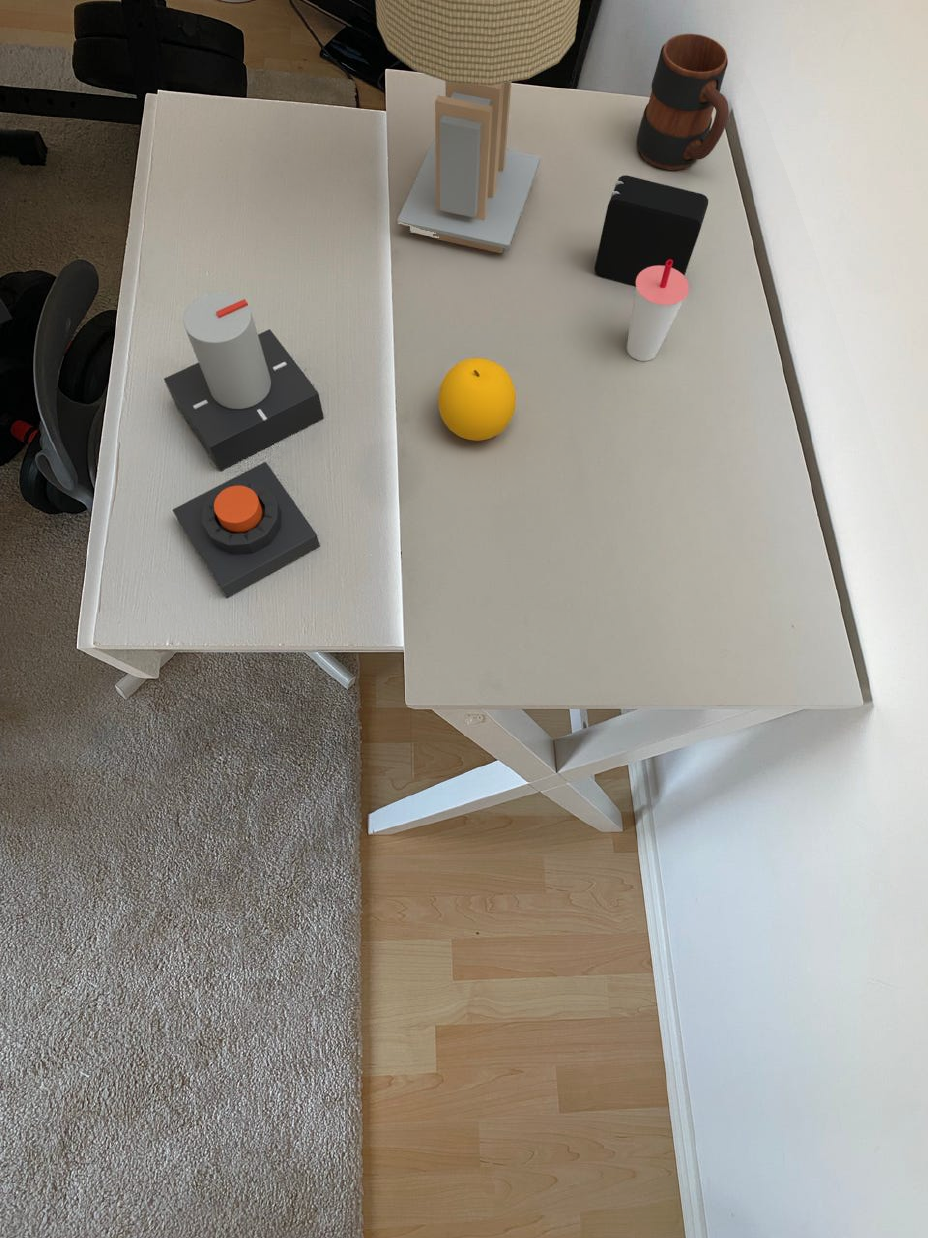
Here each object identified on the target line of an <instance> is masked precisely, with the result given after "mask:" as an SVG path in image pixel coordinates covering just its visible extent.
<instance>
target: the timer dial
mask: <svg viewBox="0 0 928 1238" xmlns="http://www.w3.org/2000/svg"><path fill="white" fill-rule="evenodd" d="M182 321H183V326H184V329H185V332H186V334H187V337H188V340H189V342H190V344H191V347H192V350H193V352H194V354H195V357H196V359H197V361H198V362H199V364H200V367H201V370H202V372H203V375H204V377H205V380H206V382H207V385H208V387H209V390H210V392H211V395H212V396H213V398H214V399H215V400H216V401H217V402H218V403H219V404H221V405H222V406H224V407H227V408H231V409H244V408H249V407H252V406H254V405H256V404H258V403H259V402H261V401H262V400H263V399H264V398H265V397H266V396H267V394H268V393H269V390H270V387H271V379H270V375H269V372H268V368H267V365H266V361H265V358H264V354H263V351H262V347H261V344H260V340H259V337H258V330H257V327H256V323H255V320H254V316H253V313H252V310H251V307H250V305H249V303H248V302H247V299H245V298H243V297H241V296H239V295H237V294H235V293H230V292H224V291H217V292H216V291H215V292H210V293H206V294H204V295H201V296H199V297H197V298H196V299H194V300H193V301H192V302H191V303H190V304H189V305H188V306H187V307H186V309H185V310H184V313H183V320H182ZM198 362H197V363H198Z"/></svg>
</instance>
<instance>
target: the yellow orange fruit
mask: <svg viewBox="0 0 928 1238" xmlns="http://www.w3.org/2000/svg"><path fill="white" fill-rule="evenodd" d="M437 398H438V399H437V405H438V410H439V414H440V418H441V420H442V421H443V423H444V424H445V426H446V427H447V428H448V430H450V432H452V433H453V434H455V435H456V436H458V437H460V438H462V439H465V440H468V441H475V442H476V441H478V442H479V441H485V440H489V439H492V438H494V437H496V436H498V435H499V434H501V433H502V432H503V431H504V430H505V429H507V427H508V426H509V425H510V422H511V420H512V419H513V417H514V415H515V412H516V407H517V406H516V403H517V392H516V387H515V385H514V382H513V379H512V377H511V375H510V374H509V373H508V371H507V370H506V369H505V368H504V367H503V366H502V365H500V364H499V363H497V362H496V361H494V360H491V359H487V358H484V357H483V358H482V357H472V358H465V359H464V360H461V361H459V362H457V363H456V364H454V366H452V367H451V368H450V369H449V370H448V371H447V373H446V374H445V376H444V377H443V379H442V381H441V383H440V385H439V390H438V397H437Z"/></svg>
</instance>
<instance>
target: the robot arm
mask: <svg viewBox="0 0 928 1238" xmlns="http://www.w3.org/2000/svg"><path fill="white" fill-rule="evenodd" d="M10 320H13V317H12V315H11V313H10V312H9V310H8V308H7V307H6V305H5V304H4V302H3V300H2V299H1V298H0V325H1V324H3V323H5V322H9V321H10Z"/></svg>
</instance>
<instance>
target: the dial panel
mask: <svg viewBox="0 0 928 1238" xmlns="http://www.w3.org/2000/svg"><path fill="white" fill-rule="evenodd" d="M258 337H259V340H260V344H261V347H262V351H263V354H264V358H265V361H266V365H267V368H268V372H269V375H270V379H271V387H270V390H269V393H268V394H267V396H266V397H265V398H264V399H263V400H262V401H261V402H259V403H258V404H256V405H254V406H252V407H249V408H244V409H231V408H227V407H224V406H222V405H221V404H219V403H218V402H217V401H216V400H215V399H214V398H213V396H212V395H211V392H210V390H209V387H208V385H207V382H206V380H205V377H204V375H203V372H202V370H201V367H200V364H199V362H196V363H194V364H192V365H190V366H188V367H186V368H183V369H181V370H179V371H177V372H175V373H173V374H171V375H169V376H166V377H164V378H163V381H164V383H165V385H166V387H167V389H168V392H169V394H170V396H171V398H172V400H173V402H174V405H175V406H176V408H177V409H178V411H179V412H180V413H181V415H182V417H183V418H184V420H185V421H186V423H187V424H188V426H189V427H190V428H191V430H192V432H193V434H195V436H196V437H197V439H198V440H199V442H200V443H201V446H202V447H203V448H204V450H205V451H206V452H207V454H208V456H209V457H210V458H211V460H212V462H213V463H214V465H215V466H216V468H217V470H218V471H219V472H222V471H224V470H226V469H228V468H231V466H233V465H236V464H237V463H240V462H242V461H244V460H245V459H247V458H250V457H252V456H253V455H256V454H257V453H259V452H261V451H264V450H265V449H267V448H269V447H271V446H273V445H275V444H277V443H279V442H280V441H282V440H285V439H287V438H289V437H291V436H292V435H294V434H296V433H299V432H300V431H302V430H304V429H306V428H308V427H311V426H312V425H314V424H316V423H318V422H320V421H322V420H323V419H325V418H324V412H323V408H322V403H321V398H320V394H319V393H320V392H319V391H318V390H317V389H316V387H315V386H314V385H313V384H312V382H311V381H310V380H309V379H308V377H307V376H306V374H305V373H304V372H303V370H302V369H301V368H300V366H299V365H298V364H297V363H296V361H295V360H294V359H293V357H292V356H291V355H290V353H289V352H288V351H287V349H286V348H285V347H284V346H283V344H282V343H281V341H280V340H279V339H278V338H277V336H276V335H275V334H274V333H273V331H272V330H271V329H270V328H269V329H267V330H265V331H263V332H260V333H259V334H258Z"/></svg>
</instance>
